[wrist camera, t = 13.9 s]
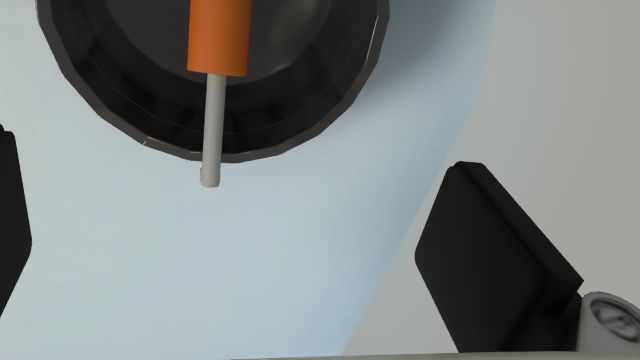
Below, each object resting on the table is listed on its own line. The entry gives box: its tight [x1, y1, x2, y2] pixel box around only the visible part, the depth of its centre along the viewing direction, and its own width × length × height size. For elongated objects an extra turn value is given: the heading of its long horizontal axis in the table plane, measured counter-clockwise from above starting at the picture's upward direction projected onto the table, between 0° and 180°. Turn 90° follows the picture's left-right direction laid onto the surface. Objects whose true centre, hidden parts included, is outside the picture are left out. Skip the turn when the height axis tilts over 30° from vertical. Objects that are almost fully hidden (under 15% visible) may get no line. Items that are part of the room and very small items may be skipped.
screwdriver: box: [187, 0, 252, 187], centre depth 23 cm, size 3×12×3 cm, turn 169°
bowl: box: [35, 0, 390, 163], centre depth 23 cm, size 15×15×5 cm
